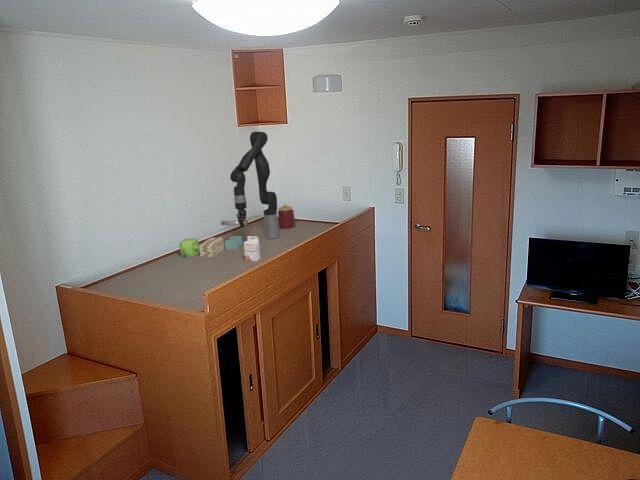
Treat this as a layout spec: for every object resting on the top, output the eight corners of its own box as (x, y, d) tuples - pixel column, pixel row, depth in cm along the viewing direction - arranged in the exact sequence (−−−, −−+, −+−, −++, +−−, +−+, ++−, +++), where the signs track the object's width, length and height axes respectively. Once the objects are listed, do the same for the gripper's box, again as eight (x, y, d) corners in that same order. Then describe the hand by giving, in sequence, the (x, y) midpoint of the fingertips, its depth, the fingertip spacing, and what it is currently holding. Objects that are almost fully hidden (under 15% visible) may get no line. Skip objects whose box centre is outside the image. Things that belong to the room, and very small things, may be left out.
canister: (294, 228, 408) (292, 205, 404) (277, 229, 409) (275, 206, 404) (295, 224, 421) (293, 202, 416) (279, 225, 421) (277, 203, 417)
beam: (224, 248, 365) (223, 237, 363) (213, 256, 346) (212, 245, 344) (211, 248, 367) (210, 237, 365) (200, 256, 348) (199, 245, 346)
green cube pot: (191, 259, 346) (190, 245, 344) (177, 258, 348) (176, 244, 346) (203, 250, 363) (202, 237, 360) (190, 250, 365) (188, 236, 362)
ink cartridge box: (245, 260, 333) (242, 237, 329) (249, 258, 337) (246, 235, 334) (256, 261, 329) (254, 238, 326) (261, 259, 334) (258, 236, 330)
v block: (243, 243, 373) (242, 236, 372) (237, 248, 361) (236, 241, 360) (232, 243, 375) (231, 236, 374) (225, 249, 363) (224, 241, 361)
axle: (248, 225, 365) (247, 219, 363) (246, 226, 361) (245, 221, 359) (222, 224, 368) (222, 219, 366) (220, 226, 364) (220, 221, 363)
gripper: (242, 203, 351) (245, 228, 356) (248, 199, 365) (251, 223, 369) (231, 203, 353) (234, 229, 357) (238, 199, 366) (241, 224, 370)
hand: (243, 226), depth 363 cm, fingers closed on axle, 3 cm apart
